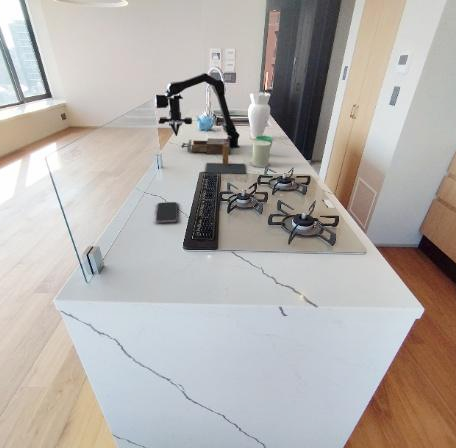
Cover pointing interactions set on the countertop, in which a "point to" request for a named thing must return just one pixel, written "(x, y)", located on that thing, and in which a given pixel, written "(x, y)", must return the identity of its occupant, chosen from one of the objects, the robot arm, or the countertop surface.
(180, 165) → the countertop surface
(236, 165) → the mat
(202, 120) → the teapot
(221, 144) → the cabinet
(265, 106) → the vase
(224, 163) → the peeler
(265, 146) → the can
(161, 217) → the smartphone
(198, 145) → the drawer
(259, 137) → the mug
